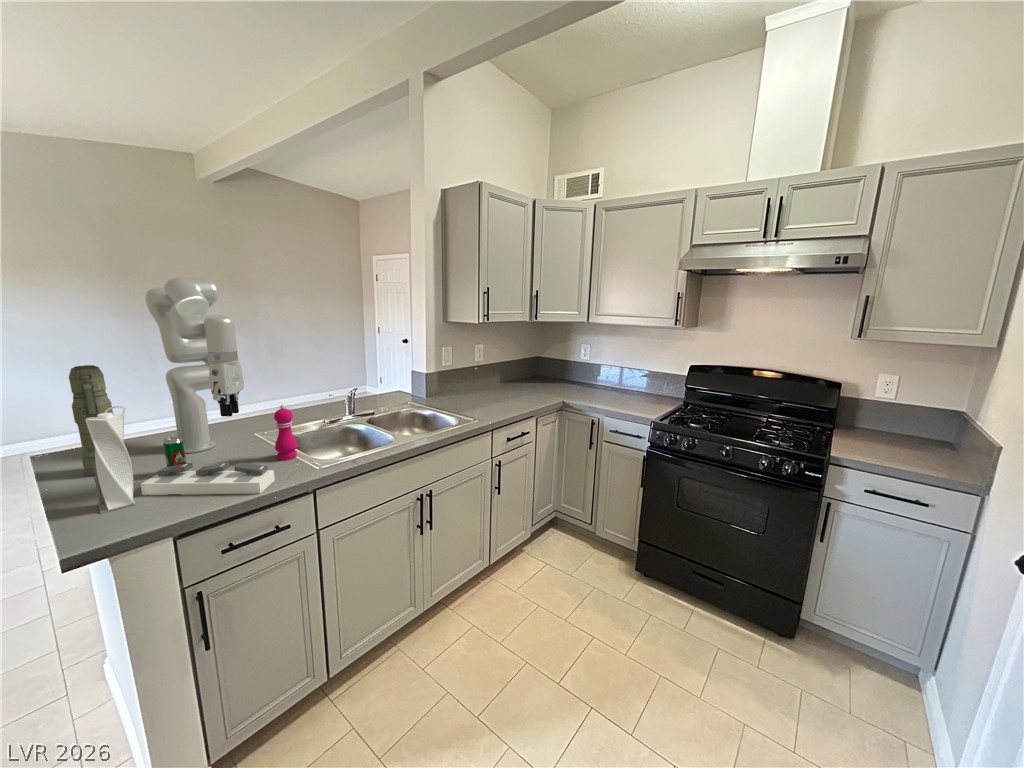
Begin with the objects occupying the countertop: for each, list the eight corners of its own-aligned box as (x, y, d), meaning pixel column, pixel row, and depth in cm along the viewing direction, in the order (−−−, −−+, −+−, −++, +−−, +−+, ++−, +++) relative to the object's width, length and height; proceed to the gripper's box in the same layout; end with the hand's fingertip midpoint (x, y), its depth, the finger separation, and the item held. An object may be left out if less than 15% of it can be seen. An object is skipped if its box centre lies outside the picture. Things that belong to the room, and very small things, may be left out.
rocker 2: (234, 472, 125) (234, 466, 125) (240, 467, 128) (241, 462, 128) (261, 476, 126) (262, 470, 126) (267, 471, 130) (267, 465, 129)
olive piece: (88, 480, 127) (66, 370, 120) (82, 470, 134) (61, 365, 127) (126, 471, 134) (107, 367, 127) (119, 462, 141) (101, 362, 134)
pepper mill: (293, 452, 155) (288, 401, 150) (301, 457, 150) (297, 404, 146) (272, 457, 149) (267, 404, 145) (281, 462, 145) (275, 408, 140)
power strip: (142, 494, 119) (140, 483, 118) (165, 481, 128) (163, 470, 127) (260, 493, 122) (259, 482, 122) (274, 480, 131) (273, 469, 130)
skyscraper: (138, 494, 119) (122, 402, 114) (143, 504, 114) (126, 408, 108) (98, 504, 113) (79, 408, 107) (101, 515, 108) (81, 414, 102)
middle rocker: (197, 477, 124) (195, 471, 124) (204, 472, 128) (203, 466, 127) (224, 472, 125) (222, 466, 124) (230, 467, 128) (229, 462, 128)
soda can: (171, 470, 136) (166, 436, 133) (190, 468, 137) (185, 435, 135) (165, 476, 131) (159, 441, 129) (184, 474, 133) (179, 440, 130)
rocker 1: (158, 477, 123) (156, 471, 123) (167, 472, 127) (165, 466, 126) (185, 473, 124) (183, 467, 123) (193, 468, 127) (191, 462, 127)
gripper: (220, 361, 117) (227, 422, 121) (250, 353, 133) (256, 407, 137) (192, 361, 117) (200, 422, 121) (226, 353, 133) (232, 407, 136)
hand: (230, 414), depth 129 cm, fingers open, 2 cm apart
